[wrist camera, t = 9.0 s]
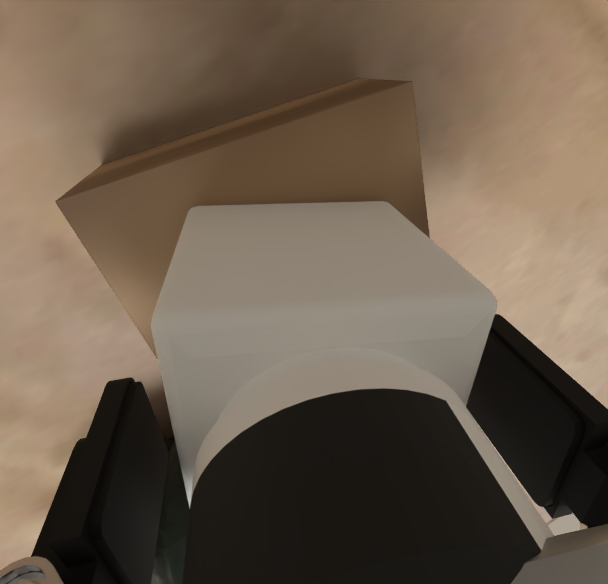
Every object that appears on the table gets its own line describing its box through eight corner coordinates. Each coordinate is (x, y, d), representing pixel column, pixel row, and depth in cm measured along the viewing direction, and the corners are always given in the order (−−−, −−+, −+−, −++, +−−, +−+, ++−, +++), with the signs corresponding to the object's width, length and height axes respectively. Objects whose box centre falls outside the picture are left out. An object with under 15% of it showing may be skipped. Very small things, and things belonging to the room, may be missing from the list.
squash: (7, 450, 17) (-14, 943, 12) (335, 389, 20) (414, 779, 15) (115, 439, 30) (123, 675, 26) (301, 404, 33) (338, 612, 28)
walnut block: (104, 163, 17) (54, 201, 12) (356, 78, 18) (411, 81, 12) (210, 356, 24) (206, 435, 18) (395, 292, 24) (442, 352, 19)
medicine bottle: (208, 366, 17) (163, 856, 6) (186, 203, 13) (-1, 705, 3) (369, 353, 18) (559, 756, 7) (389, 198, 14) (817, 550, 4)
